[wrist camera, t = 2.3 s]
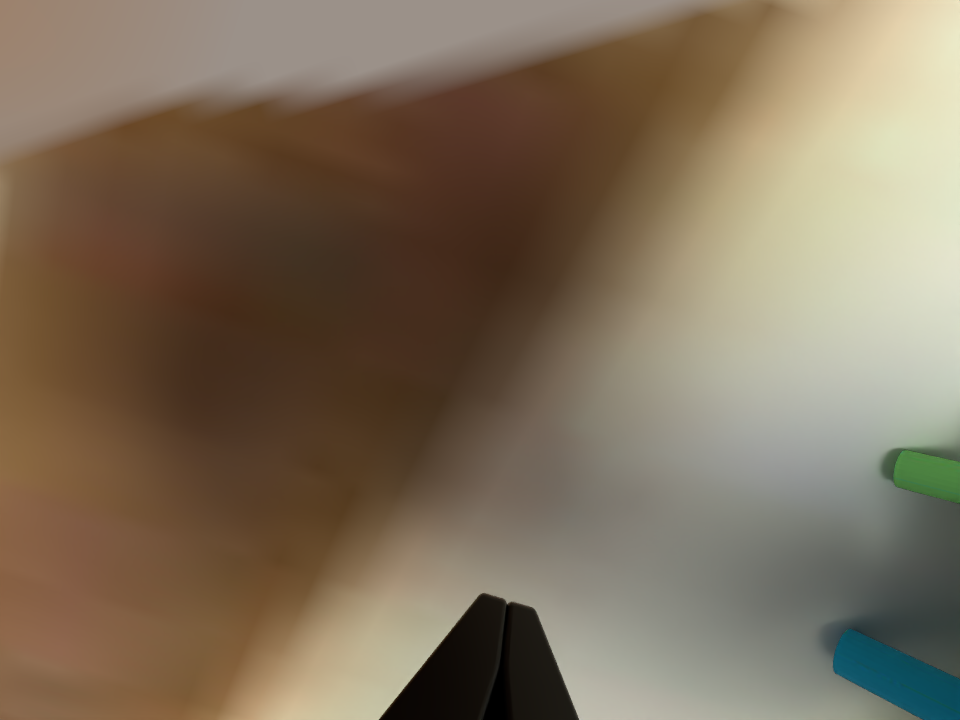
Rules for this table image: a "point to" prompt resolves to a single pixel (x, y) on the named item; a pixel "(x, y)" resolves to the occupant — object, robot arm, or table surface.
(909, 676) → the gear
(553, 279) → the table surface
